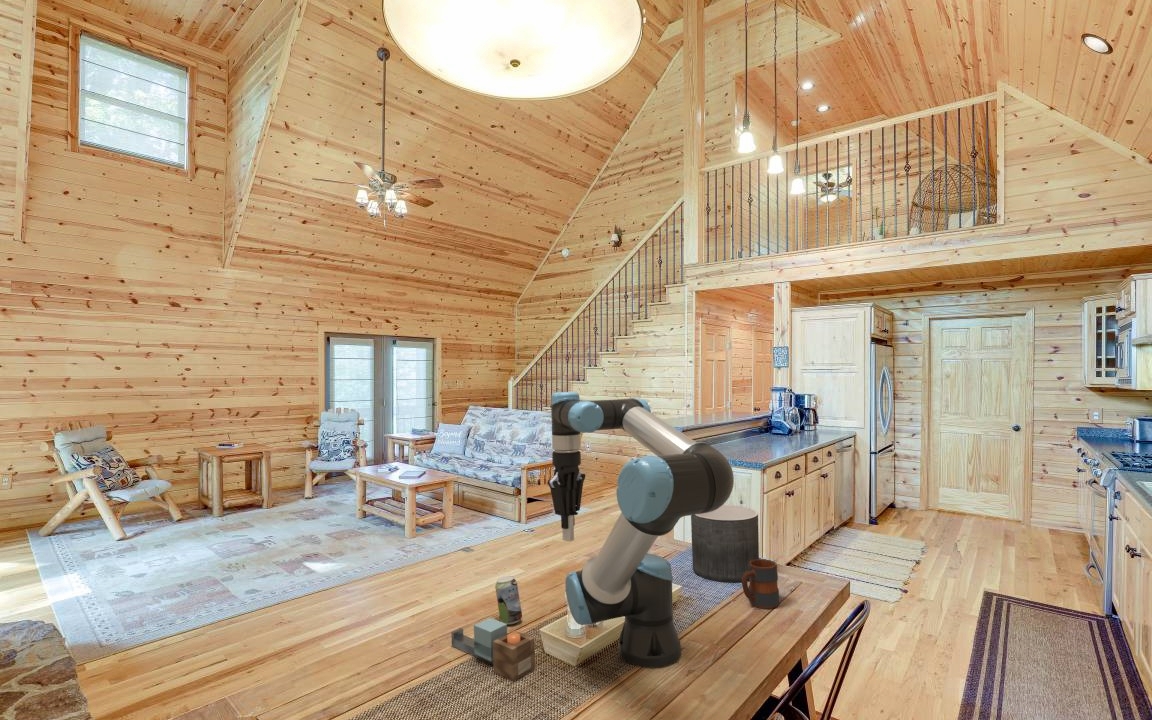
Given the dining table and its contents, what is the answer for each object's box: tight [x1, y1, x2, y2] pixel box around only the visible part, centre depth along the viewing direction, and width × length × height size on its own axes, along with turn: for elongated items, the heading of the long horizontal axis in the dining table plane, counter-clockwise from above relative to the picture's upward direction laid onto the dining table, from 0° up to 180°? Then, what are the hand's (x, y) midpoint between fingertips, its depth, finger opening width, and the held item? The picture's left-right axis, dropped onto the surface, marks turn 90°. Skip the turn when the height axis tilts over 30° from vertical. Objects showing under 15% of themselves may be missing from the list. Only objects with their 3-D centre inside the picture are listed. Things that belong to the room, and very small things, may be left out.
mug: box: [741, 558, 780, 610], centre depth 166 cm, size 9×12×12 cm
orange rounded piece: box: [507, 632, 520, 646], centre depth 133 cm, size 3×3×4 cm
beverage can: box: [494, 575, 523, 625], centre depth 159 cm, size 6×7×12 cm
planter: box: [690, 503, 760, 583], centre depth 195 cm, size 22×22×20 cm
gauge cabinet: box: [492, 630, 536, 682], centre depth 133 cm, size 7×7×7 cm
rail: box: [450, 627, 493, 666], centre depth 141 cm, size 18×3×4 cm, turn 50°
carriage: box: [473, 617, 508, 661], centre depth 138 cm, size 6×5×7 cm
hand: (568, 540), depth 151 cm, fingers closed
